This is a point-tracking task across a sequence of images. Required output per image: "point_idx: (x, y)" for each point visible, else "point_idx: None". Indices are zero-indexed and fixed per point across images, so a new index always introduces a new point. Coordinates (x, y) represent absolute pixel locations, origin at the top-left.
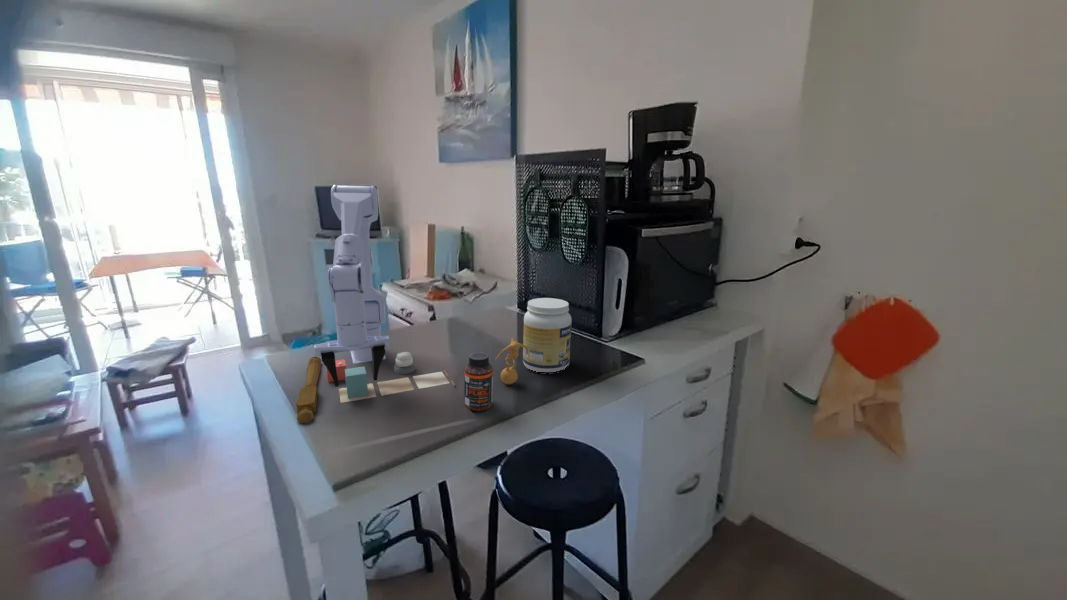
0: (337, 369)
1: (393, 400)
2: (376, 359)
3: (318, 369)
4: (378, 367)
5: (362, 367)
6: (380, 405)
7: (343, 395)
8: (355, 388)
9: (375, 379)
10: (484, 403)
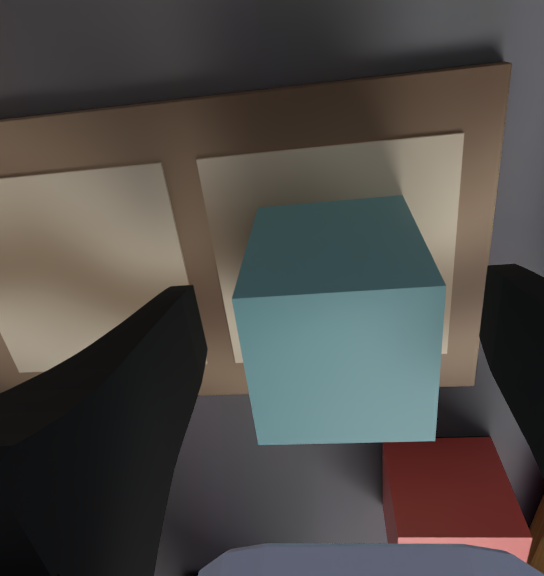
0: (453, 517)
1: (73, 90)
2: (51, 399)
3: (537, 569)
4: (97, 344)
5: (274, 429)
6: (162, 30)
7: (429, 249)
8: (347, 228)
9: (178, 287)
10: None
